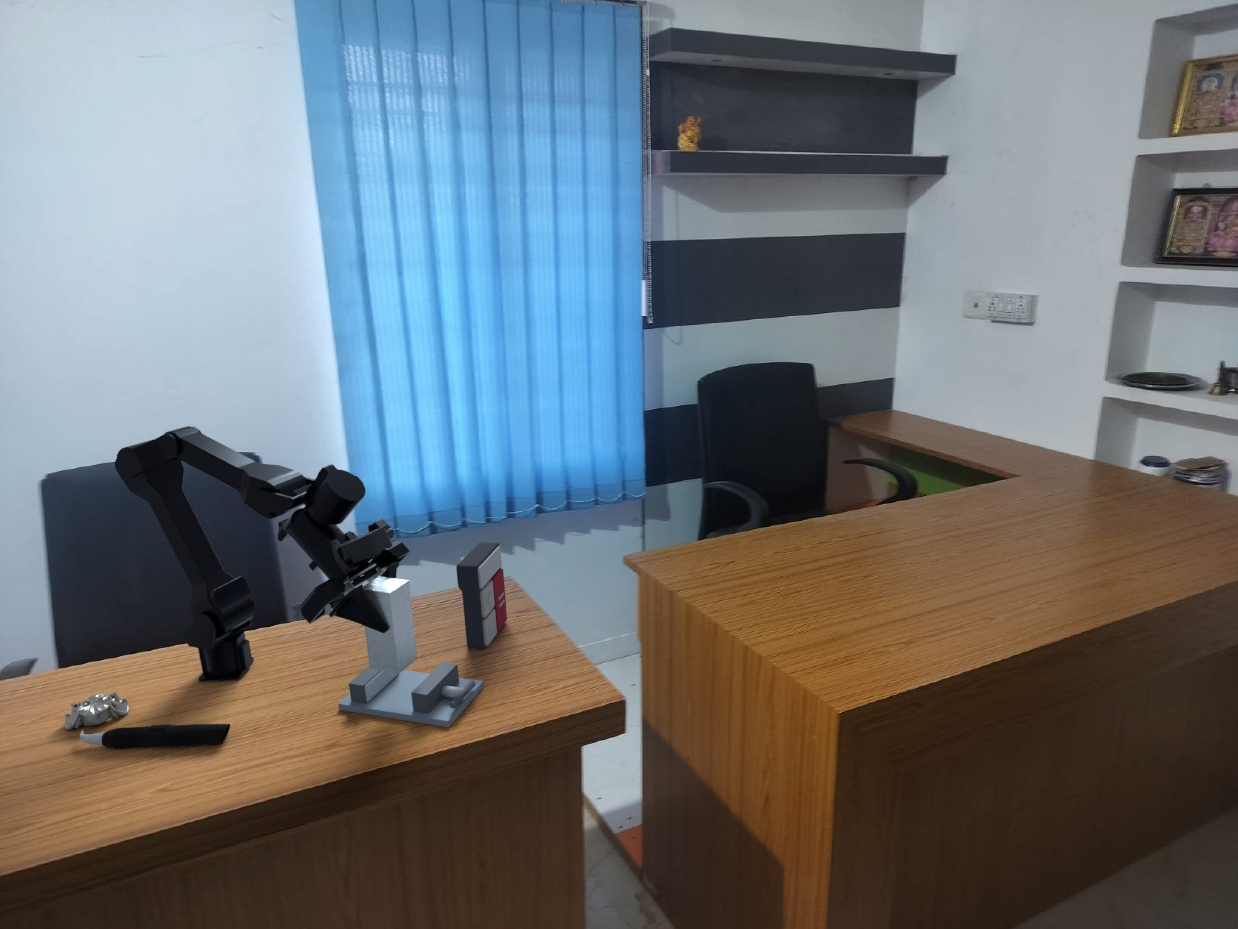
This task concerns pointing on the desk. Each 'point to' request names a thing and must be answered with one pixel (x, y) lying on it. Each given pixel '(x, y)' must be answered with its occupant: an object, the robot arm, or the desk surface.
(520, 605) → the desk surface
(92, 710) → the ornament
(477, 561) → the calculator
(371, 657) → the steel block
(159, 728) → the utility knife
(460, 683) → the vise
